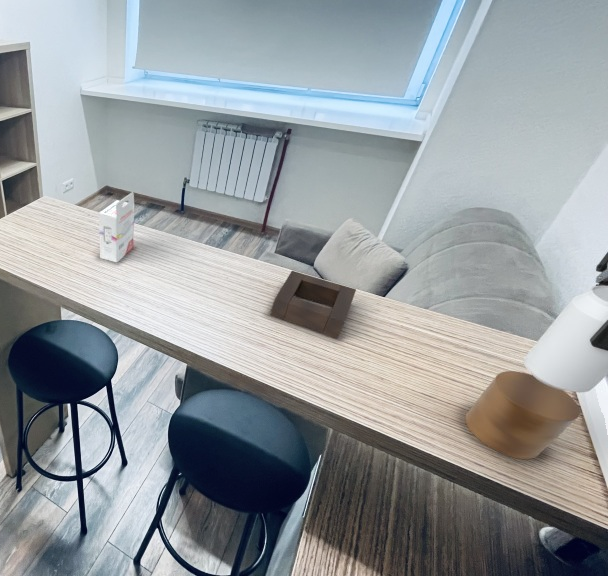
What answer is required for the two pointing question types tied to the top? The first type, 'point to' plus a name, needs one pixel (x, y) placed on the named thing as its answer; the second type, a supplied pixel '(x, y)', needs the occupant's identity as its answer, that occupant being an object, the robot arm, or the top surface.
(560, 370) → the beverage can
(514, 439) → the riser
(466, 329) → the top surface
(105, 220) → the ink cartridge box
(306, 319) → the can stand
